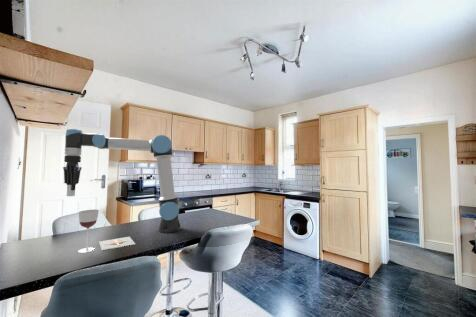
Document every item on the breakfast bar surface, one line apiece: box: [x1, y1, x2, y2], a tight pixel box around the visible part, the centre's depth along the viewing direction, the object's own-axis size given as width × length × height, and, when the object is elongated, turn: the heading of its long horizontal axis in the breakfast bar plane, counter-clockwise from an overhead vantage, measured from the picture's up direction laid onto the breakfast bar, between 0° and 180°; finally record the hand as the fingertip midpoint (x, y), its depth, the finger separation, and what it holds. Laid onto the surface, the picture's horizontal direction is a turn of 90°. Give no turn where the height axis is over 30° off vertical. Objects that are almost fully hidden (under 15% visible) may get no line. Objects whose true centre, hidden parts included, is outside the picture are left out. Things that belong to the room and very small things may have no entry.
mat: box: [98, 236, 136, 252], centre depth 121 cm, size 16×16×1 cm
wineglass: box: [77, 209, 99, 254], centre depth 111 cm, size 8×9×20 cm
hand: (70, 195), depth 123 cm, fingers closed
